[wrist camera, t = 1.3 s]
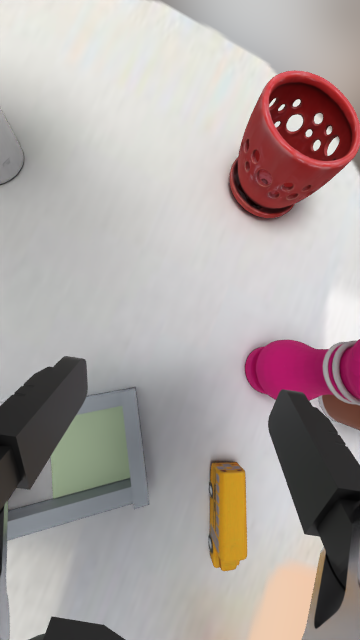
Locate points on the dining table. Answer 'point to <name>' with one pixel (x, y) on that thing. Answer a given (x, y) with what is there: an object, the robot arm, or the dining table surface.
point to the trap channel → (91, 466)
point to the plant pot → (292, 144)
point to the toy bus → (227, 515)
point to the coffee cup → (340, 410)
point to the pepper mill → (306, 370)
